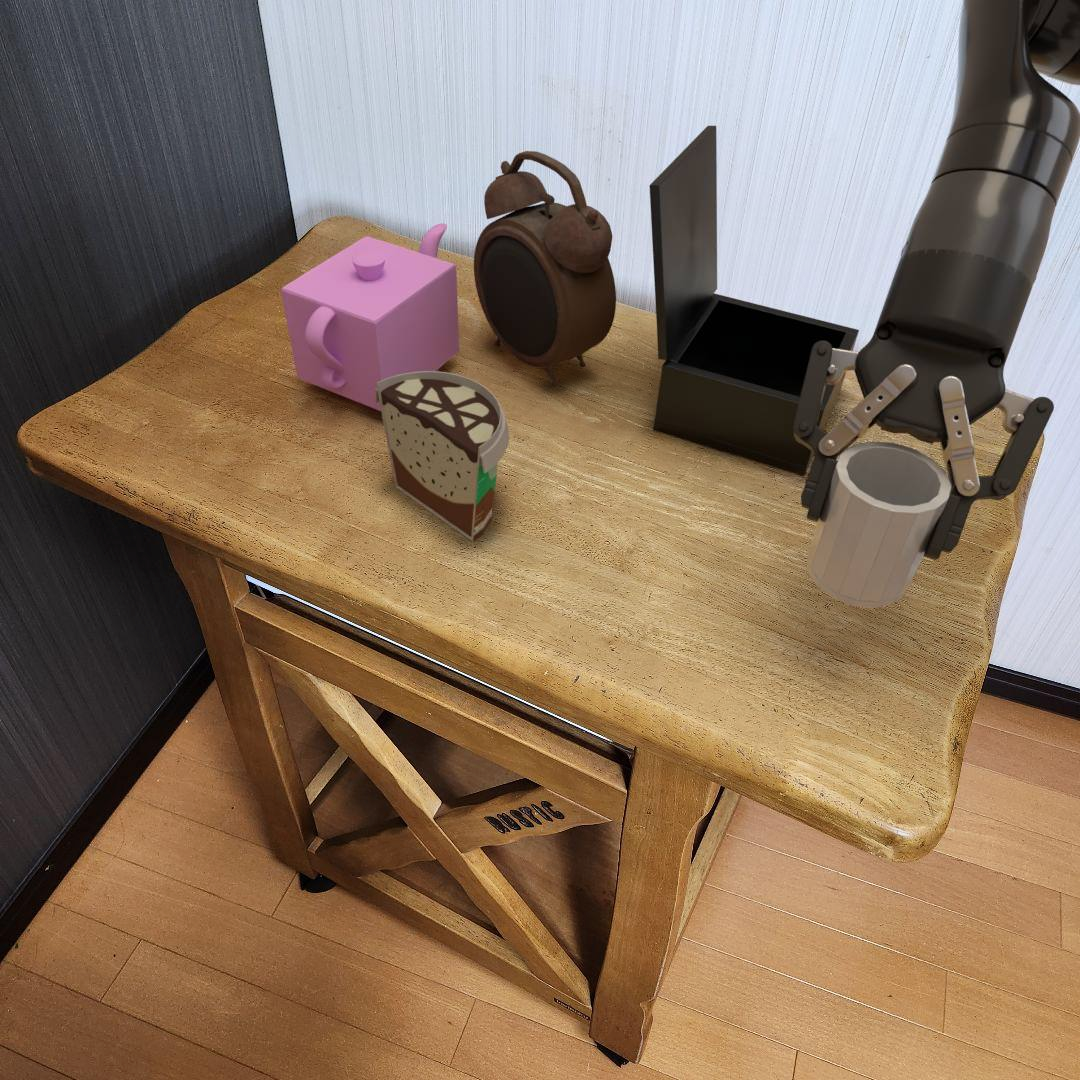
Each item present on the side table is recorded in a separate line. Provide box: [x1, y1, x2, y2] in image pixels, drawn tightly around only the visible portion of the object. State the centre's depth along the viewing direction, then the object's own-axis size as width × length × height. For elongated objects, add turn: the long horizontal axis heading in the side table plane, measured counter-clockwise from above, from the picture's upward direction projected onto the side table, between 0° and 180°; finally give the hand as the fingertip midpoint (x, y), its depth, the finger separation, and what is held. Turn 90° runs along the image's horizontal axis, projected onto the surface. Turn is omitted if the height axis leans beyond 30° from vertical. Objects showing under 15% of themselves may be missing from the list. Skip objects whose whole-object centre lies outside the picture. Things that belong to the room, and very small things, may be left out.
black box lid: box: [649, 125, 718, 361], centre depth 77 cm, size 15×14×1 cm
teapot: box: [280, 222, 460, 412], centre depth 84 cm, size 20×10×12 cm, turn 150°
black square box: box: [652, 293, 860, 477], centre depth 83 cm, size 14×14×7 cm
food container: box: [375, 371, 510, 543], centre depth 72 cm, size 12×6×10 cm, turn 47°
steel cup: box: [806, 441, 951, 609], centre depth 56 cm, size 6×6×8 cm
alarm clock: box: [473, 150, 617, 388], centre depth 83 cm, size 15×7×20 cm, turn 41°
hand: (871, 537), depth 54 cm, fingers closed on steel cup, 6 cm apart
